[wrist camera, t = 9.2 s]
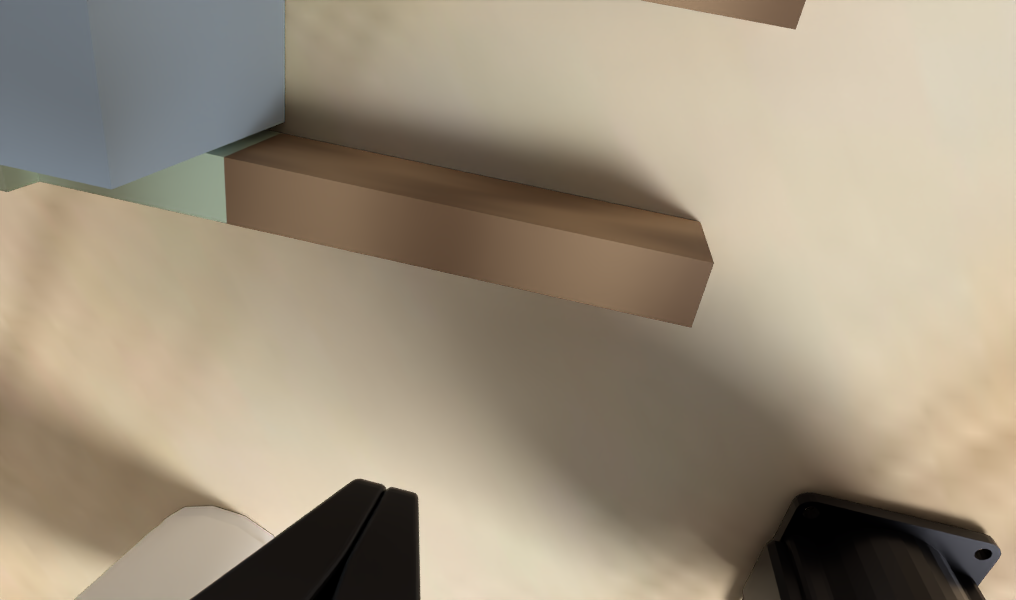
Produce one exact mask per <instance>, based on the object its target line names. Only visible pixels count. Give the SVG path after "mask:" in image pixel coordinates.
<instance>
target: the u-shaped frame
mask: <svg viewBox="0 0 1016 600" xmlns="http://www.w3.org/2000/svg"><path fill="white" fill-rule="evenodd" d="M642 1H648V2H653V3H658V4H664V5H669V6H674V7H680V8H685V9H690V10H695V11H701V12H706V13H711V14H717V15H722V16H727V17H733V18H738V19H743V20H749V21H754V22H759V23H765V24H770V25H775V26H780V27H786V28H791V29H796V27H797V24H798V21H799V18H800V15H801V12H802V9H803V7H804V4H805V1H806V0H642ZM39 181H40V182H44V183H48V184H53V185H57V186H62V187H66V188H71V189H75V190H80V191H84V192H89V193H93V194H98V195H102V196H107V197H111V198H115V199H120V200H124V201H129V202H133V203H138V204H142V205H147V206H151V207H156V208H160V209H165V210H169V211H173V212H178V213H182V214H187V215H191V216H196V217H200V218H205V219H209V220H214V221H218V222H223V223H227V224H231V225H236V226H240V227H245V228H249V229H254V230H258V231H263V232H267V233H272V234H276V235H281V236H285V237H289V238H294V239H298V240H303V241H307V242H312V243H316V244H321V245H325V246H330V247H334V248H339V249H343V250H347V251H352V252H356V253H361V254H365V255H370V256H374V257H379V258H383V259H388V260H392V261H397V262H401V263H406V264H410V265H414V266H419V267H423V268H428V269H432V270H437V271H441V272H446V273H450V274H455V275H459V276H464V277H468V278H472V279H477V280H481V281H486V282H490V283H495V284H499V285H504V286H508V287H513V288H517V289H522V290H526V291H530V292H535V293H539V294H544V295H548V296H553V297H557V298H562V299H566V300H571V301H575V302H580V303H584V304H588V305H593V306H597V307H602V308H606V309H611V310H615V311H620V312H624V313H629V314H633V315H638V316H642V317H646V318H651V319H655V320H660V321H664V322H669V323H673V324H678V325H682V326H687V327H692V324H693V321H694V318H695V315H696V313H697V310H698V307H699V304H700V301H701V298H702V295H703V293H704V290H705V287H706V284H707V281H708V278H709V275H710V273H711V270H712V267H713V264H714V262H713V259H712V256H711V253H710V250H709V247H708V244H707V241H706V238H705V235H704V232H703V229H702V226H701V223H700V222H698V221H694V220H689V219H684V218H679V217H675V216H670V215H665V214H660V213H656V212H651V211H646V210H642V209H637V208H632V207H627V206H623V205H618V204H613V203H609V202H604V201H599V200H594V199H590V198H585V197H580V196H576V195H571V194H566V193H561V192H557V191H552V190H547V189H543V188H538V187H533V186H528V185H524V184H519V183H514V182H510V181H505V180H500V179H495V178H491V177H486V176H481V175H477V174H472V173H467V172H462V171H458V170H453V169H448V168H443V167H439V166H434V165H429V164H425V163H420V162H415V161H410V160H406V159H401V158H396V157H392V156H387V155H382V154H377V153H373V152H368V151H363V150H359V149H354V148H349V147H344V146H340V145H335V144H330V143H326V142H321V141H316V140H311V139H307V138H302V137H297V136H293V135H288V134H283V133H278V132H274V131H269V130H263V131H260V132H258V133H255V134H252V135H250V136H247V137H245V138H242V139H240V140H237V141H235V142H232V143H229V144H227V145H224V146H222V147H219V148H217V149H214V150H212V151H209V152H206V153H204V154H201V155H199V156H196V157H194V158H191V159H189V160H186V161H183V162H181V163H178V164H176V165H173V166H171V167H168V168H166V169H163V170H160V171H158V172H155V173H153V174H150V175H148V176H145V177H142V178H140V179H137V180H135V181H132V182H130V183H127V184H125V185H122V186H119V187H117V188H114V189H107V188H103V187H98V186H94V185H89V184H85V183H80V182H76V181H71V180H67V179H62V178H58V177H53V176H49V175H44V174H40V173H36V172H31V171H27V170H22V169H18V168H13V167H9V166H4V165H0V190H1V191H5V192H9V191H12V190H15V189H18V188H21V187H24V186H27V185H30V184H33V183H36V182H39Z"/></svg>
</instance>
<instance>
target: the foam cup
mask: <svg viewBox="0 0 1016 600" xmlns="http://www.w3.org/2000/svg"><path fill="white" fill-rule="evenodd" d="M273 538H275V537H274V536H273V535H272V534H270V533H269V532H267V531H266V530H264V529H263V528H262V527H260V526H259V525H257V524H256V523H254V522H253V521H251V520H250V519H249V518H247V517H246V516H243V515H240V514H237V513H234V512H231V511H228V510H224V509H221V508H218V507H215V506H197V507H184V508H182V509H180V510H179V511H177V512H175V513H174V514H172V515H170V516H169V517H167V518H166V519H165V520H164V521H163V522H162V523H161V524H160V525H159V526H157V527H155V528H154V529H153V530H151V531H150V532H149V533H148V534H147V535H146V536H145V537H144V538H142V539H141V540H140V541H139V542H138V543H137V544H136V545H135V546H133V547H132V548H131V549H130V550H129V551H128V552H127V553H126V554H124V555H123V556H122V557H121V558H120V559H119V560H118V561H117V562H115V563H114V564H113V565H112V566H111V567H110V568H109V569H108V570H106V571H105V572H104V573H103V574H102V575H101V576H100V577H99V578H97V579H96V580H95V581H94V582H93V583H92V584H91V585H90V586H88V587H87V588H86V589H85V590H84V591H83V592H82V593H81V594H79V595H78V596H77V597H76V598H75V599H74V600H190V599H191V598H192V597H194V596H195V595H197V594H198V593H199V592H201V591H202V590H203V589H205V588H206V587H208V586H209V585H210V584H212V583H213V582H214V581H216V580H217V579H219V578H220V577H221V576H223V575H224V574H225V573H227V572H228V571H229V570H231V569H232V568H234V567H235V566H236V565H238V564H239V563H240V562H242V561H243V560H245V559H246V558H247V557H249V556H250V555H251V554H253V553H254V552H255V551H257V550H258V549H260V548H261V547H262V546H264V545H265V544H266V543H268V542H269V541H271V540H272V539H273Z"/></svg>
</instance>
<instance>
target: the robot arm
mask: <svg viewBox="0 0 1016 600" xmlns="http://www.w3.org/2000/svg"><path fill="white" fill-rule="evenodd" d="M808 507H814V508H813V509H811V510H805V509H806V508H808ZM980 549H981V550H980ZM1000 555H1001V551H1000V549H999V547H998V546H997V544H996V543H995V541H994V540H993V539H992V538H991V537H990V536H988V535H986V534H983V533H978V532H974V531H970V530H966V529H962V528H957V527H953V526H949V525H945V524H941V523H937V522H932V521H928V520H924V519H920V518H916V517H912V516H907V515H903V514H899V513H895V512H891V511H886V510H882V509H878V508H874V507H870V506H866V505H861V504H857V503H853V502H849V501H845V500H841V499H836V498H832V497H828V496H824V495H820V494H815V493H803V494H800V495H798V496H796V498H795V499H794V500H793V502H792V504H791V505H790V507H789V509H788V511H787V513H786V515H785V517H784V519H783V521H782V523H781V525H780V527H779V529H778V531H777V533H776V535H775V537H774V539H773V540H771V541H770V542H768V543H767V544H766V545H765V546H764V548H763V550H762V552H761V554H760V556H759V558H758V560H757V562H756V564H755V566H754V568H753V570H752V572H751V574H750V576H749V578H748V580H747V582H746V584H745V586H744V588H743V596H744V597H743V599H742V600H985V598H984V596H983V594H982V593H981V591H980V589H979V588H978V585H979V584H980V583H981V581H982V580H983V579H984V577H985V576H986V575H987V573H988V572H989V571H990V570H991V568H992V567H993V566H994V564H995V563H996V562H997V560H998V559H999V557H1000ZM190 600H420V557H419V507H418V496H417V494H416V493H413V492H410V491H406V490H402V489H398V488H394V487H390V488H388V489H387V490H386V487H385V486H384V485H382V484H379V483H375V482H371V481H367V480H363V479H355V480H353V481H351V482H350V483H349V484H347V485H346V486H344V487H343V488H342V489H340V490H339V491H338V492H336V493H335V494H334V495H332V496H331V497H329V498H328V499H327V500H325V501H324V502H323V503H321V504H320V505H318V506H317V507H316V508H314V509H313V510H312V511H310V512H309V513H308V514H306V515H305V516H303V517H302V518H301V519H299V520H298V521H297V522H295V523H294V524H292V525H291V526H290V527H288V528H287V529H286V530H284V531H283V532H281V533H280V534H279V535H277V536H276V537H275V538H273V539H272V540H271V541H269V542H268V543H266V544H265V545H264V546H262V547H261V548H260V549H258V550H257V551H255V552H254V553H253V554H251V555H250V556H249V557H247V558H246V559H245V560H243V561H242V562H240V563H239V564H238V565H236V566H235V567H234V568H232V569H231V570H229V571H228V572H227V573H225V574H224V575H223V576H221V577H220V578H219V579H217V580H216V581H214V582H213V583H212V584H210V585H209V586H208V587H206V588H205V589H203V590H202V591H201V592H199V593H198V594H197V595H195V596H194V597H192V598H191V599H190Z"/></svg>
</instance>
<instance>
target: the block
mask: <svg viewBox="0 0 1016 600" xmlns="http://www.w3.org/2000/svg"><path fill="white" fill-rule="evenodd" d="M283 122H285V0H0V165H4V166H9V167H13V168H18V169H22V170H27V171H31V172H36V173H40V174H44V175H49V176H53V177H58V178H62V179H67V180H71V181H76V182H80V183H85V184H89V185H94V186H98V187H103V188H107V189H114V188H117V187H119V186H122V185H125V184H127V183H130V182H132V181H135V180H137V179H140V178H142V177H145V176H148V175H150V174H153V173H155V172H158V171H160V170H163V169H166V168H168V167H171V166H173V165H176V164H178V163H181V162H183V161H186V160H189V159H191V158H194V157H196V156H199V155H201V154H204V153H206V152H209V151H212V150H214V149H217V148H219V147H222V146H224V145H227V144H229V143H232V142H235V141H237V140H240V139H242V138H245V137H247V136H250V135H252V134H255V133H258V132H260V131H263V130H265V129H268V128H270V127H273V126H275V125H278V124H281V123H283Z"/></svg>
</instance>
